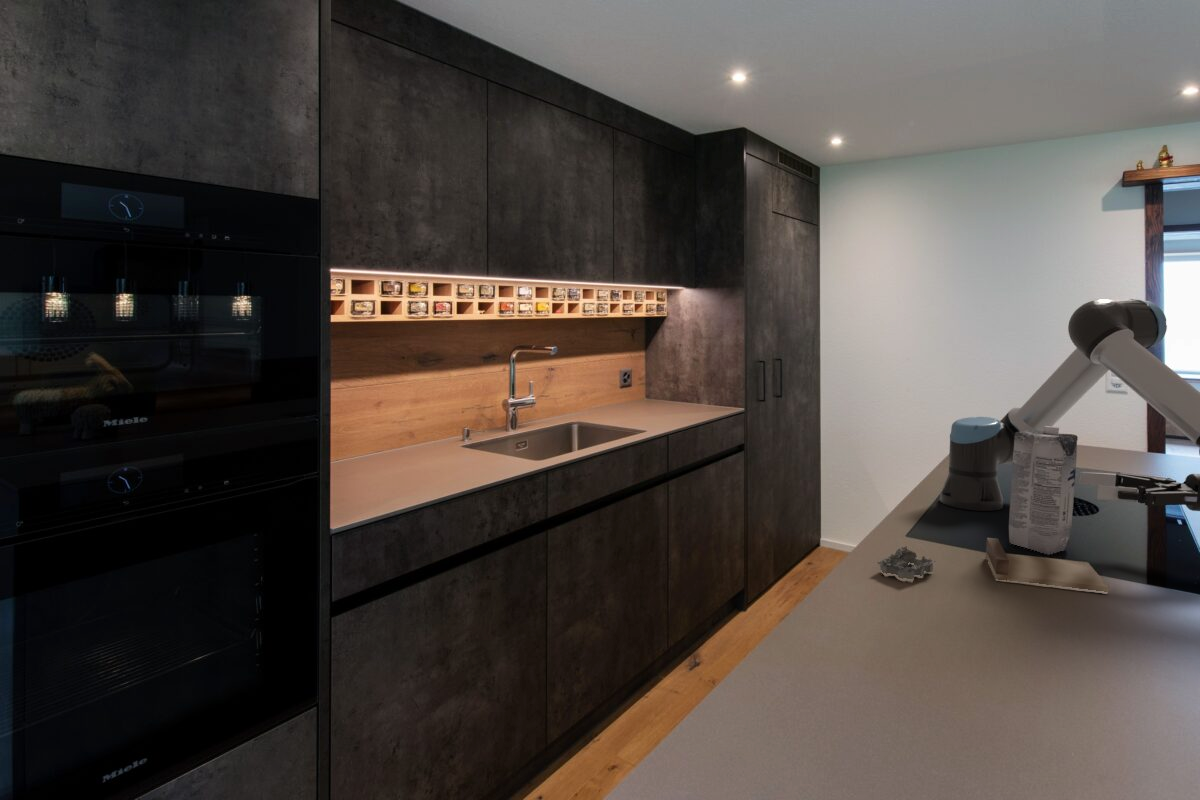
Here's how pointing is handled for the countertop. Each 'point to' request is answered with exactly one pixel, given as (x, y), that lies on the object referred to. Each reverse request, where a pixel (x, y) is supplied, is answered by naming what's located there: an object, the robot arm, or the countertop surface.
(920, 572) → the egg carton
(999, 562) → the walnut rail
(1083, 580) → the oak board
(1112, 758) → the countertop surface
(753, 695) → the countertop surface
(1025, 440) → the juice carton
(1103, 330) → the robot arm
